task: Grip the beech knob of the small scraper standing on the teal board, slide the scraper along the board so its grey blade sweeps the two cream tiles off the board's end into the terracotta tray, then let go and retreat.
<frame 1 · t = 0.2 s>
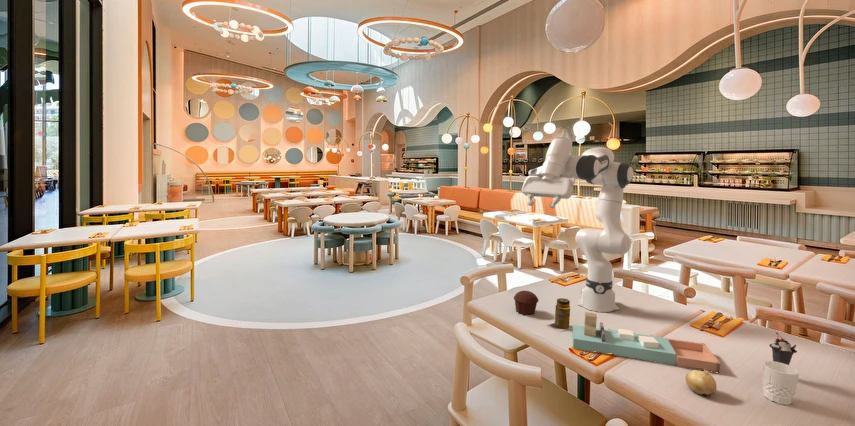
hand: (540, 206, 149), 54 cm above the table, tool tilted 30°, fingers open, 8 cm apart
tray: (691, 359, 141), on the table
muffin: (525, 312, 185), on the table
scraper: (589, 333, 152), point 4 cm above the table, touching board
white cup: (776, 399, 118), on the table
condiment: (560, 327, 169), on the table
sundae: (778, 377, 130), on the table
tile b: (648, 344, 144), point 4 cm above the table, touching board
tile a: (625, 337, 150), point 4 cm above the table, touching board
board: (619, 348, 149), on the table
tan oval lump: (699, 392, 121), on the table
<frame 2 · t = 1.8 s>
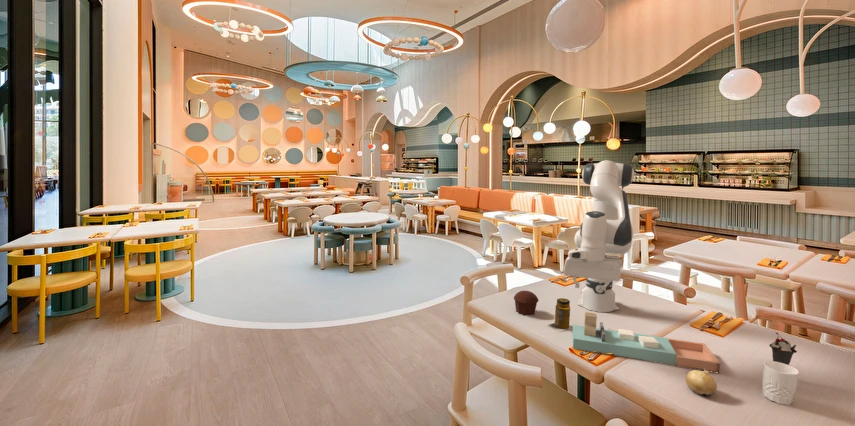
hand: (590, 289, 150), 22 cm above the table, tool pointing down, fingers open, 8 cm apart
nothing on the table moved.
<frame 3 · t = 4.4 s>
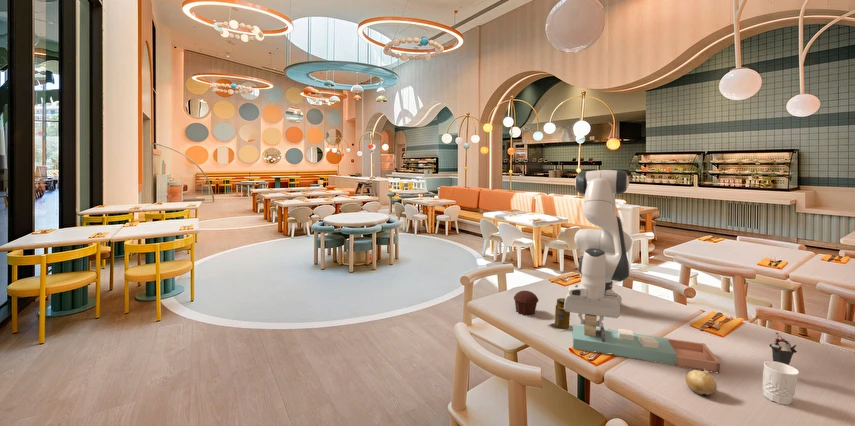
hand: (590, 325, 152), 8 cm above the table, tool pointing down, fingers closed on scraper, 4 cm apart
scraper: (589, 333, 152), point 4 cm above the table, touching board, gripper
everything else where it was.
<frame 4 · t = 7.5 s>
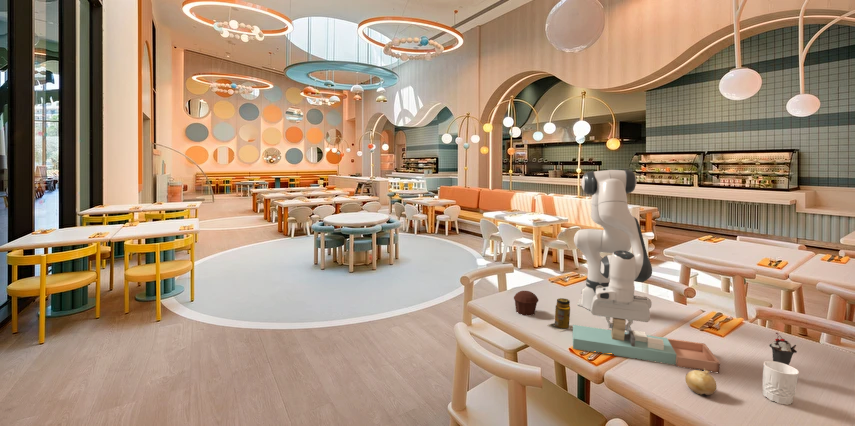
hand: (618, 328, 149), 8 cm above the table, tool pointing down, fingers closed on scraper, 4 cm apart
scraper: (617, 337, 149), point 4 cm above the table, touching gripper, tile a
tile b: (655, 346, 142), point 4 cm above the table, touching tile a
tile a: (638, 338, 148), point 4 cm above the table, touching scraper, tile b
everything else where it was.
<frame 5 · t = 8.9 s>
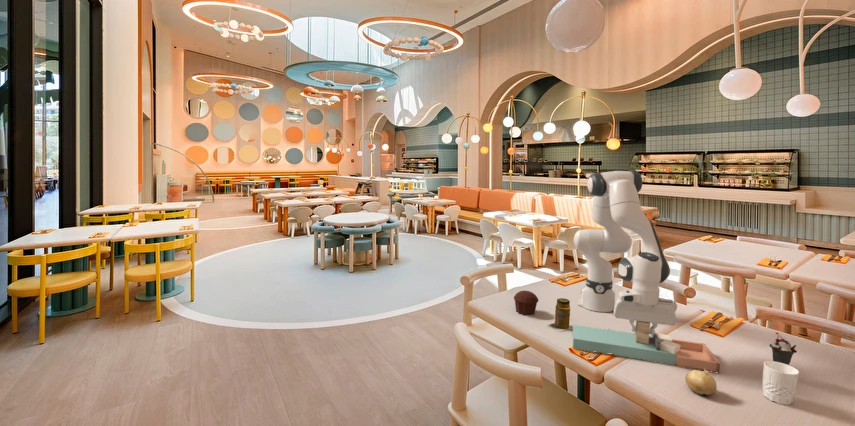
hand: (642, 332, 146), 8 cm above the table, tool pointing down, fingers closed on scraper, 4 cm apart
scraper: (641, 341, 146), point 4 cm above the table, touching gripper, tile a, tile b
tile b: (669, 349, 140), point 4 cm above the table, touching scraper
tile a: (662, 341, 146), point 4 cm above the table, touching scraper
everything else where it was.
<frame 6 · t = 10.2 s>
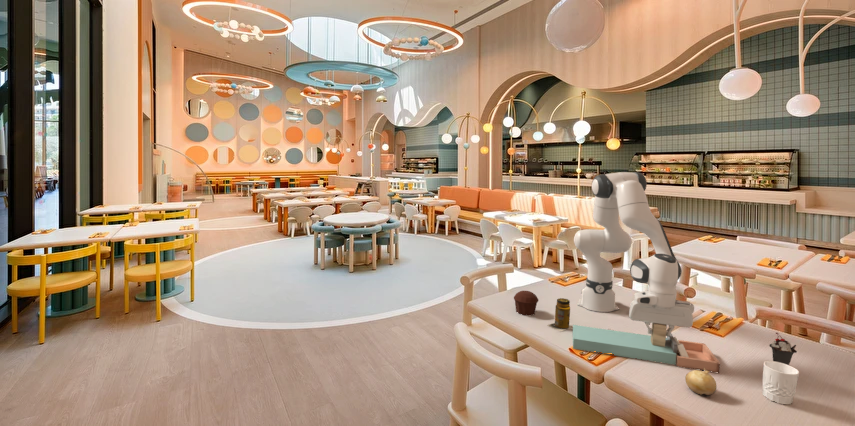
hand: (658, 334, 144), 8 cm above the table, tool pointing down, fingers closed on scraper, 4 cm apart
scraper: (657, 343, 144), point 4 cm above the table, touching gripper
tile b: (679, 352, 139), point 4 cm above the table, tilted 65°, touching tray
tile a: (675, 347, 145), point 3 cm above the table, tilted 57°, touching tray
everything else where it was.
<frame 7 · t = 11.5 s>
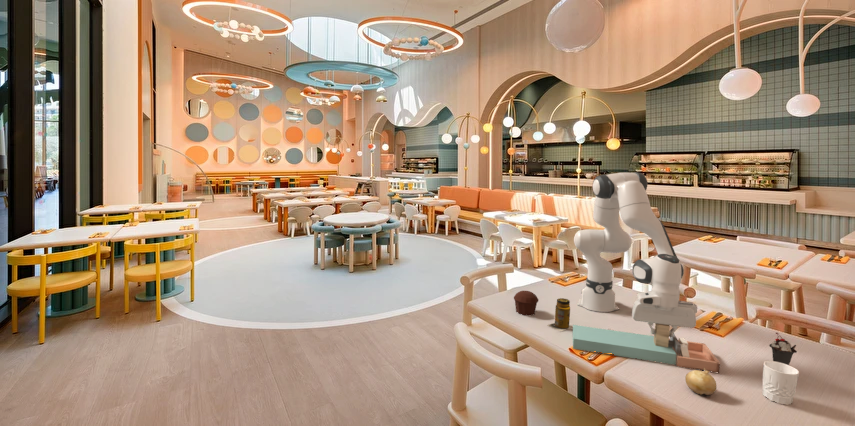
hand: (661, 335, 144), 8 cm above the table, tool pointing down, fingers closed on scraper, 4 cm apart
scraper: (660, 344, 144), point 4 cm above the table, touching gripper
tile b: (681, 352, 139), point 4 cm above the table, tilted 75°, touching tray
tile a: (679, 346, 144), point 3 cm above the table, tilted 90°, touching tray
everything else where it was.
when the fingers open (8 cm above the table, at t = 12.3 s): scraper stays where it is, resting on board.
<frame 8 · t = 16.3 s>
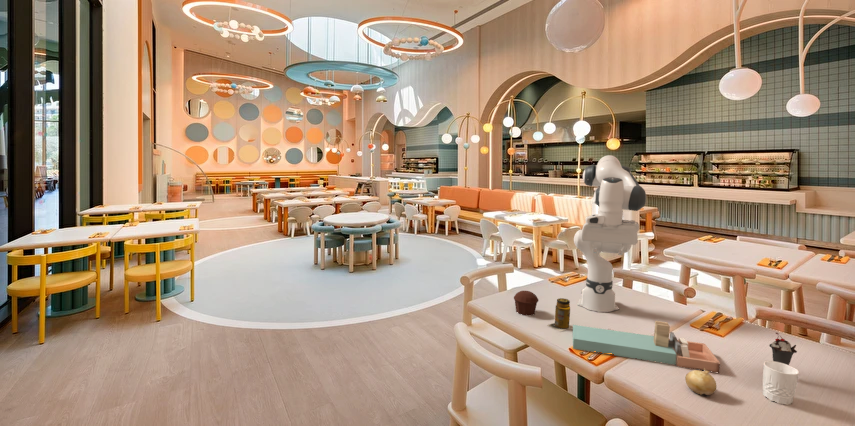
hand: (607, 253, 153), 35 cm above the table, tool pointing down, fingers open, 8 cm apart
scraper: (660, 344, 144), point 4 cm above the table, touching board
everything else where it was.
at the end: tile a inside the target area (4.5 cm from its centre), point 3.1 cm above the table; tile b inside the target area (5.6 cm from its centre), point 3.5 cm above the table; the gripper is holding nothing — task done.
